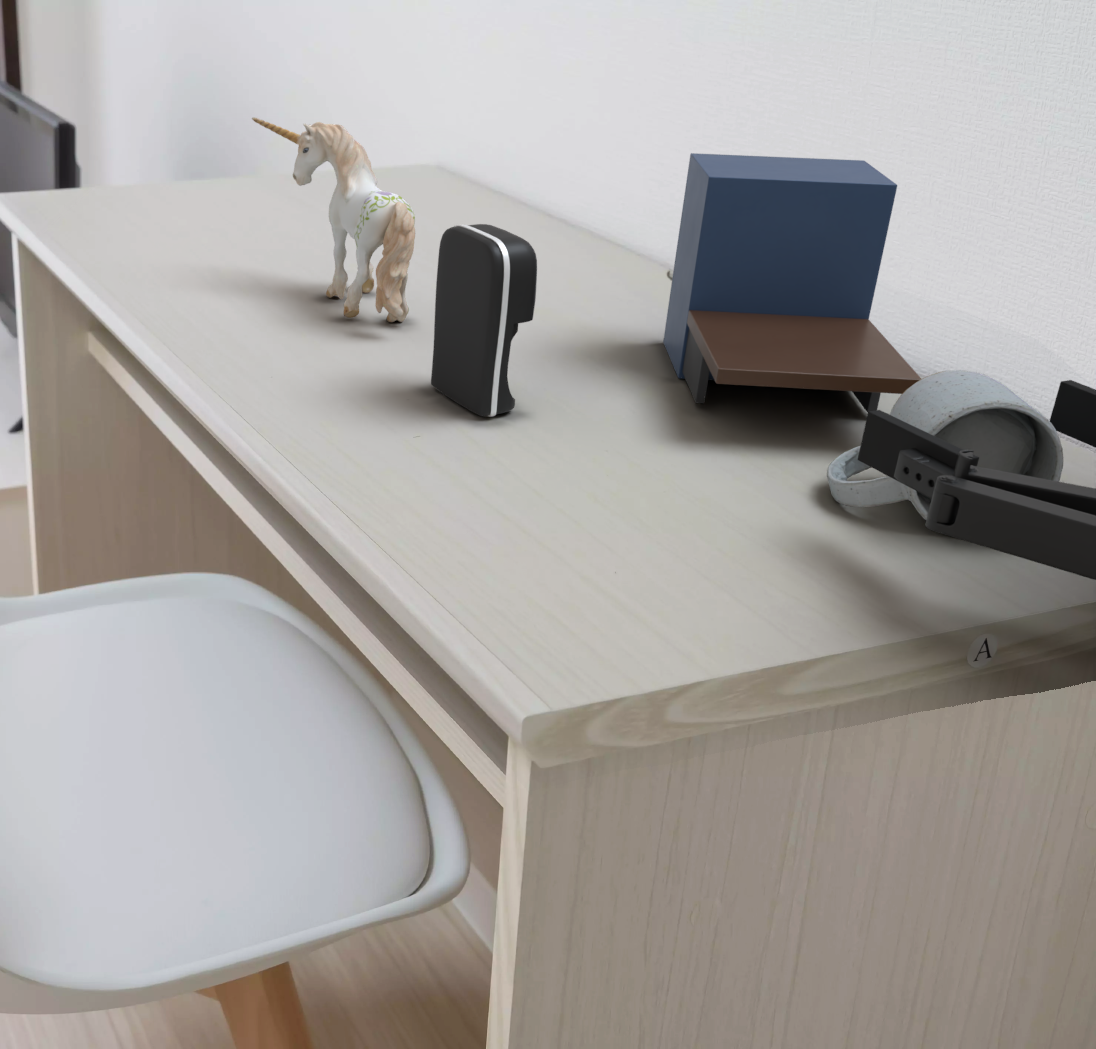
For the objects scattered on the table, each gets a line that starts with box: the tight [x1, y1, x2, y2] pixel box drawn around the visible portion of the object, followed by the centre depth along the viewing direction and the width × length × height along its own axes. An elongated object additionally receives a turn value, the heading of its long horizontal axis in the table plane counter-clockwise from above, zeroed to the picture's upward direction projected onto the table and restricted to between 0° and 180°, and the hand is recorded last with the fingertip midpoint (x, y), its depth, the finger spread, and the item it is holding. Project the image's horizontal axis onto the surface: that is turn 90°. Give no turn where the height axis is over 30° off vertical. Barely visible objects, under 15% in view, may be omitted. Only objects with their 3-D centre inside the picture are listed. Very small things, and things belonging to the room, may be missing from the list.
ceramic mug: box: [826, 369, 1064, 521], centre depth 74 cm, size 11×8×8 cm
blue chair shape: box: [662, 152, 922, 413], centre depth 89 cm, size 12×20×14 cm, turn 174°
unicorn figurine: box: [251, 116, 416, 323], centre depth 105 cm, size 7×20×13 cm, turn 34°
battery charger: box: [430, 223, 538, 418], centre depth 87 cm, size 7×4×11 cm, turn 26°
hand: (966, 418), depth 72 cm, fingers open, 13 cm apart
